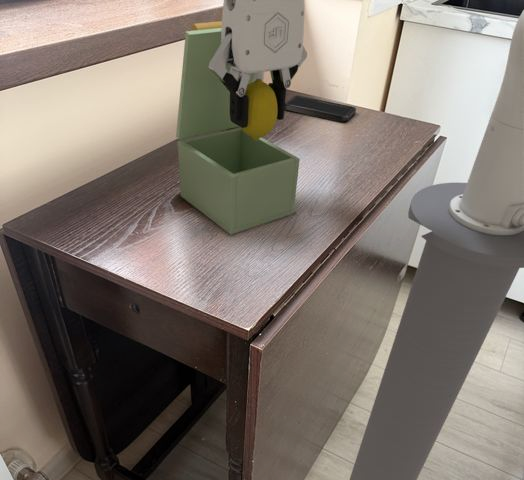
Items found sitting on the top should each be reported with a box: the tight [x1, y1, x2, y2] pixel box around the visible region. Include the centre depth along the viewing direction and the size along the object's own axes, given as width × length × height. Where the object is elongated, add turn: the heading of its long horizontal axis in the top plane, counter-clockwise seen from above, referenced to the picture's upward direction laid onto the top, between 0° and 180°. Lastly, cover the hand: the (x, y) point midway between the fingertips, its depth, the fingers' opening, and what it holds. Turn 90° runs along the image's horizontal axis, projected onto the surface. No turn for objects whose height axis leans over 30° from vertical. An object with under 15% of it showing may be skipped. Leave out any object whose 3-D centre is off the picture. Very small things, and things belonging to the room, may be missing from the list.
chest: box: [177, 128, 300, 235], centre depth 78 cm, size 14×12×9 cm
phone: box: [285, 95, 357, 123], centre depth 115 cm, size 8×1×15 cm
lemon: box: [242, 79, 278, 141], centre depth 69 cm, size 6×6×8 cm
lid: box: [175, 20, 255, 140], centre depth 73 cm, size 15×12×5 cm
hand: (257, 119), depth 70 cm, fingers closed on lemon, 5 cm apart
